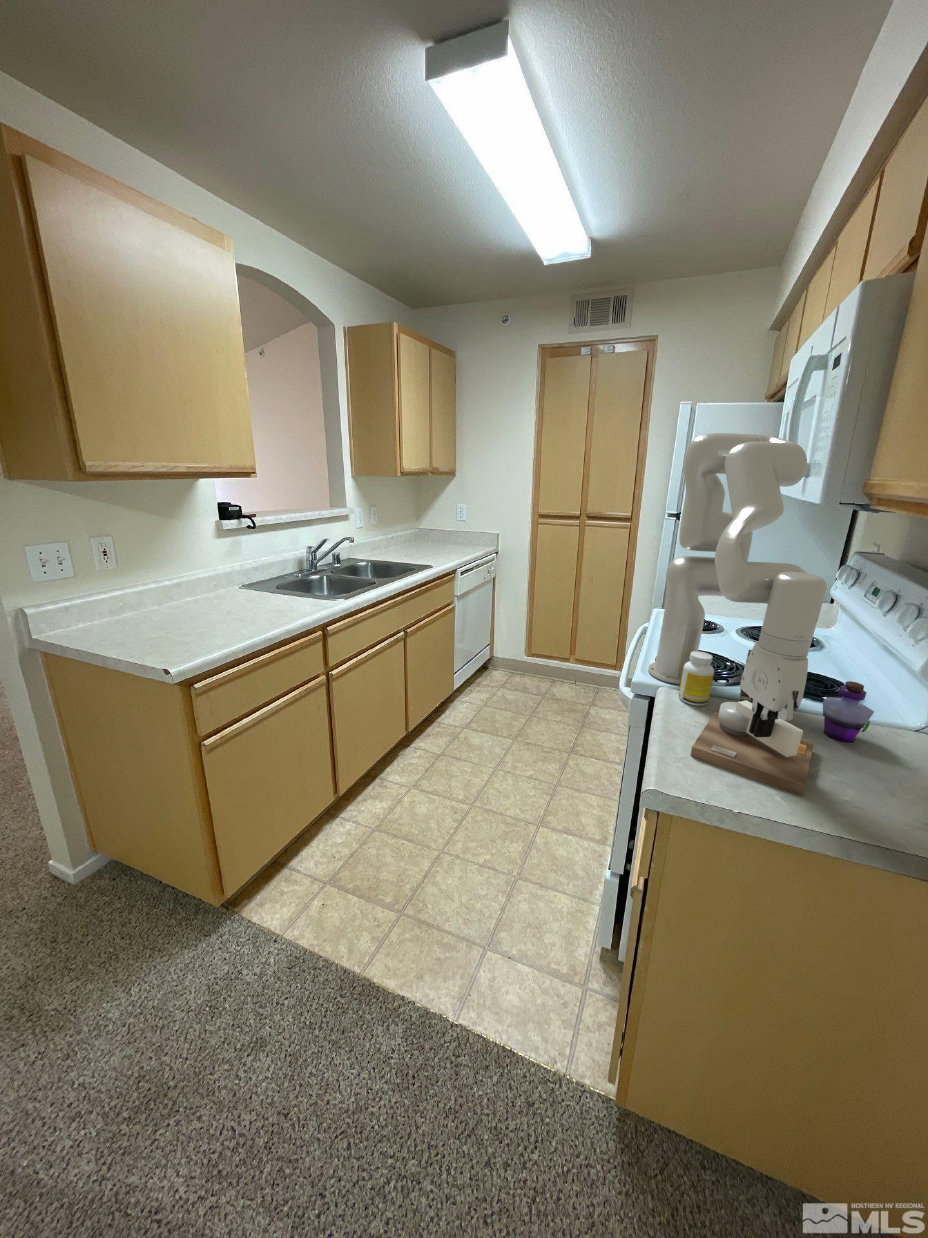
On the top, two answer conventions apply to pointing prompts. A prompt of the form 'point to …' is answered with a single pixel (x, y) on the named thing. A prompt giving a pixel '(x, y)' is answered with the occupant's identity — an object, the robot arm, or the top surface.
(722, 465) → the robot arm
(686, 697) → the pill bottle
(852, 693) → the potion bottle
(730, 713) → the white bar with knob
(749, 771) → the post base
